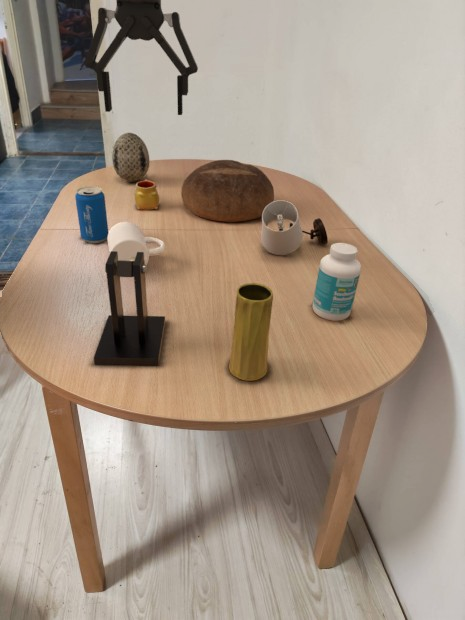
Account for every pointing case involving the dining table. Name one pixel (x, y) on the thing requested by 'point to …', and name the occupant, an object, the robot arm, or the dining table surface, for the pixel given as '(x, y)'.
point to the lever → (126, 267)
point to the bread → (227, 191)
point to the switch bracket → (129, 322)
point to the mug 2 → (146, 195)
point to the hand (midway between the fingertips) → (144, 112)
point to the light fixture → (289, 238)
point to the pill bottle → (337, 282)
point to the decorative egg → (130, 157)
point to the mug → (131, 242)
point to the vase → (251, 331)
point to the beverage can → (92, 214)
